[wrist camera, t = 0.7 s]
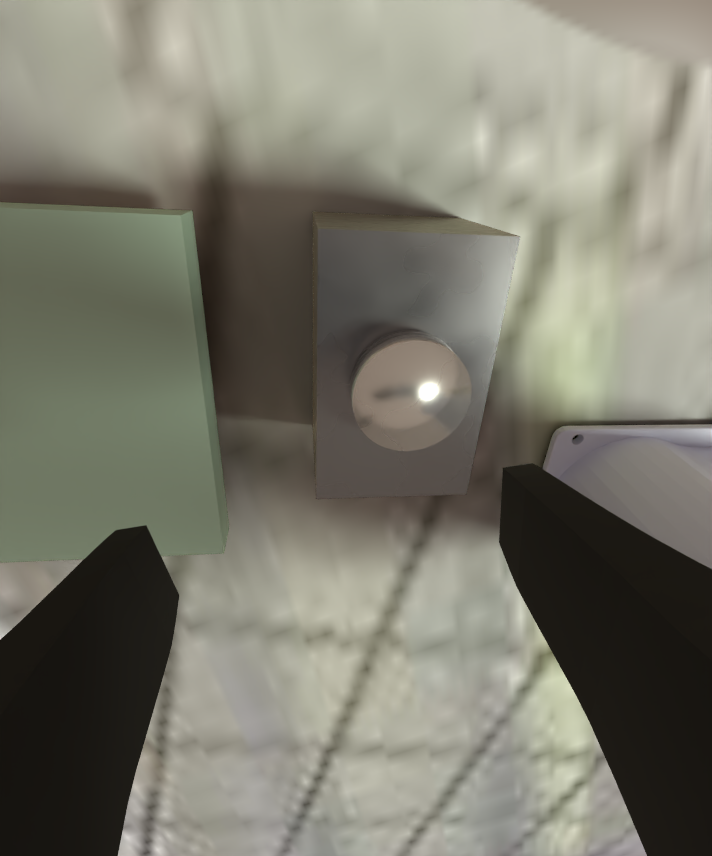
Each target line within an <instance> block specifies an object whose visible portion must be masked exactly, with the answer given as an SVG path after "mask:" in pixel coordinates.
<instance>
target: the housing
mask: <svg viewBox="0 0 712 856" xmlns="http://www.w3.org/2000/svg"><path fill="white" fill-rule="evenodd" d="M519 240H520V236H517V235H513V234H510V233H507V232H504V231H501V230H497V229H494V228H491V227H488V226H485V225H481V224H478V223H475V222H472V221H468V220H465V219H462V218H449V217H426V216H403V215H381V214H358V213H335V212H313V381H312V426H313V445H314V465H315V485H316V499H331V498H364V497H398V496H432V495H466V494H467V490H468V485H469V480H470V475H471V470H472V466H473V461H474V456H475V451H476V446H477V442H478V437H479V432H480V427H481V422H482V418H483V413H484V408H485V403H486V398H487V394H488V389H489V384H490V379H491V374H492V370H493V365H494V360H495V355H496V350H497V346H498V341H499V336H500V331H501V326H502V322H503V317H504V312H505V307H506V302H507V298H508V293H509V288H510V283H511V278H512V274H513V269H514V264H515V259H516V254H517V250H518V245H519Z"/></svg>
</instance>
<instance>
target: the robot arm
mask: <svg viewBox="0 0 712 856" xmlns="http://www.w3.org/2000/svg"><path fill="white" fill-rule="evenodd" d="M576 435H578V437H577V438H576V439H574V440H572V439H573V437H574V436H576ZM499 543H500V546H501V548H502V551H503V554H504V556H505V559H506V561H507V564H508V567H509V569H510V571H511V574H512V576H513V579H514V581H515V583H516V586H517V588H518V590H519V592H520V594H521V596H522V598H523V599H524V601H525V603H526V605H527V607H528V609H529V610H530V612H531V614H532V616H533V618H534V620H535V622H536V623H537V625H538V627H539V629H540V631H541V632H542V634H543V636H544V638H545V640H546V641H547V643H548V645H549V647H550V649H551V651H552V652H553V654H554V656H555V658H556V660H557V661H558V663H559V665H560V667H561V669H562V670H563V672H564V674H565V676H566V678H567V680H568V681H569V683H570V685H571V687H572V689H573V690H574V692H575V694H576V696H577V698H578V700H579V702H580V704H581V706H582V708H583V710H584V712H585V714H586V716H587V718H588V720H589V722H590V724H591V726H592V728H593V731H594V733H595V735H596V738H597V740H598V742H599V744H600V747H601V749H602V751H603V753H604V756H605V758H606V760H607V762H608V765H609V767H610V769H611V771H612V774H613V776H614V778H615V780H616V783H617V785H618V788H619V790H620V792H621V795H622V797H623V799H624V802H625V804H626V806H627V809H628V811H629V814H630V816H631V818H632V821H633V823H634V825H635V828H636V830H637V833H638V835H639V837H640V840H641V842H642V844H643V847H644V849H645V852H646V854H647V856H712V424H695V425H599V426H562V427H560V428H558V429H557V430H556V431H555V432H554V433H553V435H552V438H551V442H550V445H549V448H548V452H547V455H546V458H545V461H544V465H543V468H542V469H541V468H540V467H538V466H536V465H535V464H533V463H532V464H526V465H519V466H513V467H507V468H503V479H502V499H501V518H500V538H499ZM178 600H179V594H178V592H177V590H176V587H175V585H174V583H173V581H172V579H171V577H170V575H169V572H168V570H167V568H166V566H165V564H164V562H163V560H162V557H161V555H160V553H159V551H158V549H157V547H156V545H155V543H154V540H153V538H152V536H151V534H150V532H149V530H148V528H147V525H144V526H138V527H132V528H126V529H119V530H115V531H114V532H113V533H112V534H111V535H109V536H108V537H107V538H106V539H105V540H104V541H103V542H102V543H101V544H100V545H99V546H97V547H96V548H95V549H94V550H93V551H92V552H91V553H90V554H89V555H88V556H87V557H86V558H85V559H84V560H83V561H82V562H81V563H80V564H79V565H78V566H77V567H76V568H75V569H74V570H73V571H72V572H71V573H70V574H69V575H68V576H67V577H66V578H65V579H64V580H63V581H62V582H61V583H60V584H59V585H57V586H56V587H55V588H54V589H53V590H52V591H51V592H50V593H49V594H48V595H47V596H46V597H45V598H44V599H43V600H42V601H41V602H40V603H39V604H38V605H37V606H36V607H35V608H34V609H33V610H32V611H31V612H30V613H29V614H28V615H27V616H26V617H25V618H24V619H22V620H21V621H20V622H19V623H18V624H17V625H16V626H15V627H14V628H13V629H12V630H11V631H10V632H8V633H7V634H6V635H5V636H4V637H3V638H2V639H1V640H0V856H118V851H119V845H120V840H121V835H122V830H123V825H124V820H125V815H126V810H127V805H128V800H129V796H130V792H131V788H132V784H133V780H134V776H135V772H136V769H137V765H138V762H139V758H140V755H141V751H142V748H143V744H144V741H145V738H146V734H147V731H148V727H149V724H150V720H151V717H152V713H153V710H154V706H155V703H156V699H157V696H158V693H159V689H160V686H161V682H162V678H163V675H164V671H165V668H166V664H167V661H168V657H169V653H170V649H171V646H172V640H173V634H174V628H175V622H176V615H177V607H178Z"/></svg>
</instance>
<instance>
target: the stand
mask: <svg viewBox="0 0 712 856" xmlns="http://www.w3.org/2000/svg"><path fill="white" fill-rule="evenodd" d="M144 525H147V528H148V530H149V532H150V534H151V536H152V538H153V540H154V543H155V545H156V547H157V549H158V551H159V553H160V555H161V556H174V555H198V554H222V553H224V551H225V545H226V540H227V535H228V530H229V522H228V514H227V505H226V496H225V488H224V479H223V470H222V462H221V453H220V445H219V436H218V427H217V419H216V410H215V401H214V393H213V384H212V376H211V367H210V358H209V350H208V341H207V332H206V324H205V315H204V307H203V298H202V289H201V281H200V272H199V264H198V255H197V246H196V238H195V229H194V220H193V212H192V211H191V210H168V209H145V208H122V207H99V206H76V205H53V204H30V203H7V202H0V563H4V562H28V561H52V560H77V559H85V558H86V557H87V556H88V555H89V554H90V553H91V552H92V551H93V550H94V549H95V548H96V547H97V546H99V545H100V544H101V543H102V542H103V541H104V540H105V539H106V538H107V537H108V536H109V535H111V534H112V533H113V532H114V531H115V530H119V529H126V528H132V527H138V526H144Z"/></svg>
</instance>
